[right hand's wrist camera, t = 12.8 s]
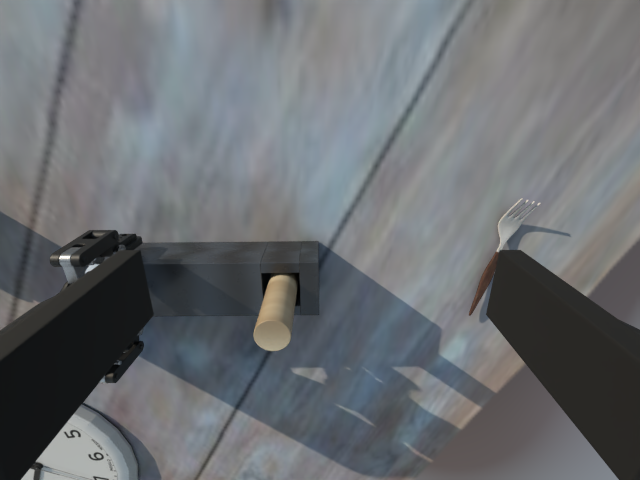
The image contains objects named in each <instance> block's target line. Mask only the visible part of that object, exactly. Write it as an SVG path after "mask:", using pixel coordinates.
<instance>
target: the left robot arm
mask: <svg viewBox="0 0 640 480" xmlns="http://www.w3.org/2000/svg"><path fill="white" fill-rule="evenodd" d="M141 244H142V238H141V237H140V236H136V234H118V232H117V231H116V230H89V231H87V232H86V233H84V234H83V235H81V236H79V237H78V238H76V239H75V240H73V241H72V242H70V243H68V244H67V245H65V246H64V247H62V248H61V249H59V250H57V251H56V252H54V253H53V254H52V255H51V257H50V263H51V265H52V266H54V267H63V270H64V272H65V275H66V278H67V282H66V283H65V285H64V287H63V288H62V290H61V291H63V290H64V289H65V288H67V287H68V286H70V285H71V284H73V283H74V282H75V281H77V280H78V279H80V278H81V277H82V276H84V275H85V274H87V273H88V272H89V271H91V270H92V269H94V268H95V267H96V266H98V265H99V264H101V263H102V262H103V261H104V259H105V257H111V256H112V255H113V254H115V253H116V252H118V251H119V250H134V249H136V248H137V247H138V246H140V245H141ZM61 291H60V292H61ZM52 298H53V297H52ZM50 299H51V298H50ZM50 299H48V300H45V301H43V302H41V303H40V304H38V305H36V306H35V307H33V308H32V309H30V310H29V311H28V312H26V313H25V314H23V315H22V316H20V317H19V318H18V319H16V320H15V321H13V322H12V323H10V324H9V325H7V326H6V327H5V328H3V329H2V330H4V329H6V328H8V327H10V326H12V325H14V324H16V323H18V322H19V321H20V320H22V319H23V318H25V317H26V316H27V315H29V314H30V313H32V312H33V311H35V310H36V309H37V308H39V307H40V306H42V305H43V304H44V303H46V302H47V301H49V300H50ZM2 330H0V331H2ZM142 333H143V329H142V330H141V331H140V332H139V333H138V335H137V336H136V337H135V338H134V340H133V341H132V342H131V343H130V345H129V346H128V347H127V348H126V350H125V351H124V352H125V353H122V355H121V356H120V357H119V358H118V360H117V361H116V362H115V363H114V365H113V366H112V367H111V368H110V370H109V371H108V372H107V373H106V375H105V376H104V377H103V378H102V379H101V381H100V382H99V383H116V382H117V381H118V380H119V379H120V378H121V376H122V375H123V374H124V373H125V371H126V370H127V369H128V368H129V367H130V365H131V364H132V363H133V362H134V360H135V359H136V358H137V357H138V355H139V354H140V353H141V352H142V350H143V347H144V343H143V341H139V335H141V334H142Z"/></svg>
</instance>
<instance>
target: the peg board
mask: <svg viewBox="0 0 640 480" xmlns="http://www.w3.org/2000/svg"><path fill="white" fill-rule="evenodd" d="M134 250H141V255H142V260H143V265H144V269H145V274H146V279H147V284H148V289H149V294H150V299H151V303H152V308H153V313H154V315H153V316H248V315H259V312H260V309H261V306H262V302H263V299H264V296H265V292H266V289H267V285H268V282H269V279H270V275H271V273H299V276H300V280H298V287H297V295H296V303H295V311H294V315H319V242H318V241H305V242H200V243H142V244H141V245H140V246H138V247H137V248H136V249H134ZM108 258H109V257H105V259H104V261H105V260H106V259H108ZM104 261H103V262H104Z"/></svg>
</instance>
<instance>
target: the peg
mask: <svg viewBox="0 0 640 480" xmlns="http://www.w3.org/2000/svg"><path fill="white" fill-rule="evenodd" d="M298 279H299V273H271V275H270V279H269V282H268V285H267V289H266V292H265V296H264V299H263V302H262V306H261V309H260V312H259V316H258V319H257V323H256V326H255V329H254V340H255V342H256V343H257V344H258V345H259V346H260V347H261V348H263V349H265V350H268V351H278V350H281V349H283V348H285V347H286V346H287V345H288V344H289V342H290V340H291V335H292V327H293V319H294V311H295V303H296V295H297V287H298Z"/></svg>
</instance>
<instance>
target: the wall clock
mask: <svg viewBox="0 0 640 480" xmlns="http://www.w3.org/2000/svg"><path fill="white" fill-rule="evenodd" d="M21 480H138V463H137V460H136V458H135V455H134V452H133V450H132V447H131V446H130V444H129V443H128V442H127V440H126V439H125V438H124V436H123V435H122V434H121V433H120V431H119V430H118V429H117V428H116V427H115V426H113V425H112V424H111V423H110V422H109V421H107V420H106V419H105V418H104V417H102V416H101V415H100V414H99V413H97V412H95V411H93V410H92V409H90V408H88V407H86V406H84V405H82V404H81V406H80V407H79V408H78V409H77V411H76V412H75V413H74V414H73V416H72V417H71V418H70V419H69V421H68V422H67V423H66V424H65V426H64V427H63V428H62V429H61V430H60V432H59V433H58V434H57V435H56V437H55V438H54V439H53V440H52V442H51V443H50V444H49V445H48V447H47V448H46V449H45V450H44V452H43V453H42V454H41V455H40V457H39V458H38V459H37V460H36V462H35V463H34V464H33V465H32V467H31V468H30V469H29V470H28V472H27V473H26V474H25V475H24V476H23V478H22V479H21Z"/></svg>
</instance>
